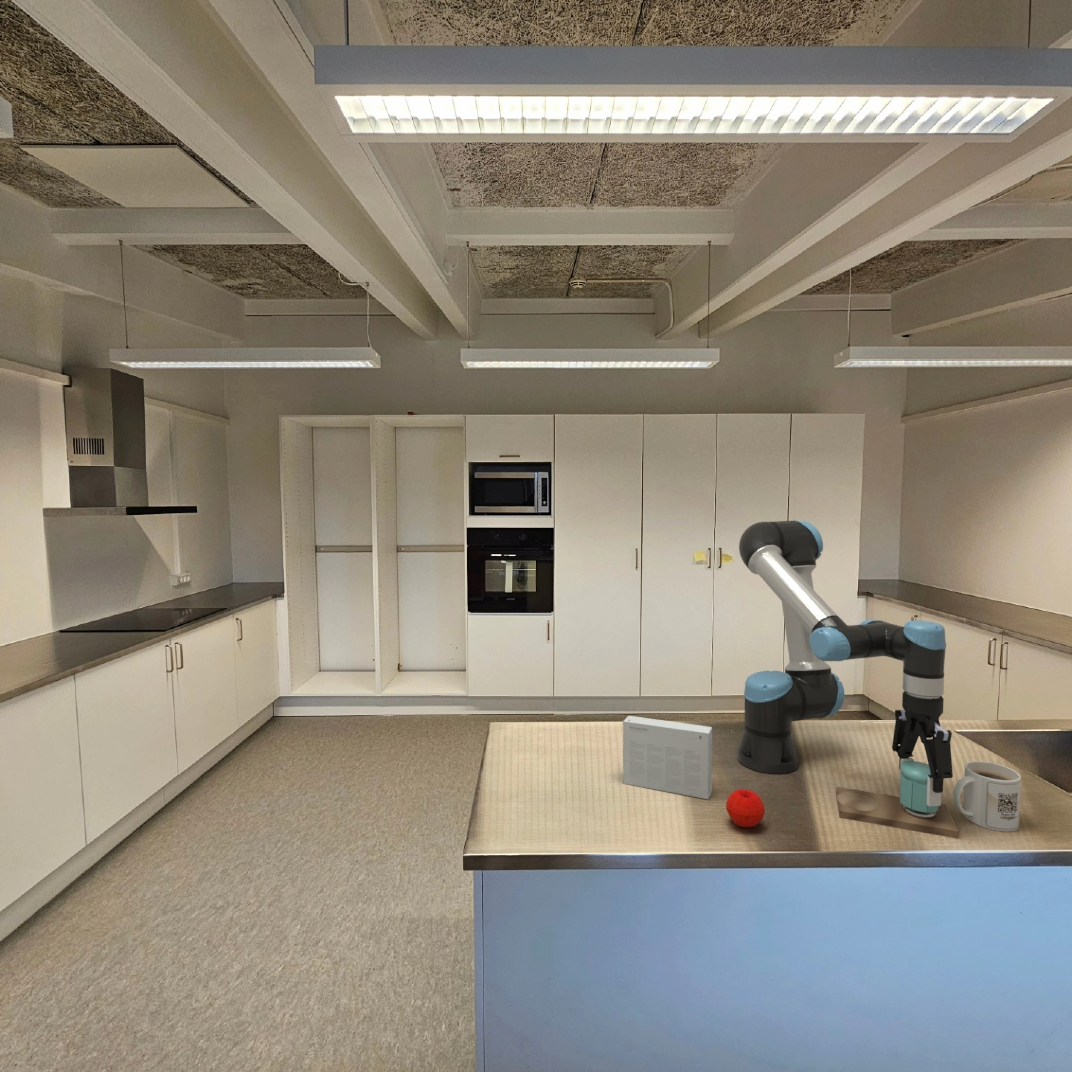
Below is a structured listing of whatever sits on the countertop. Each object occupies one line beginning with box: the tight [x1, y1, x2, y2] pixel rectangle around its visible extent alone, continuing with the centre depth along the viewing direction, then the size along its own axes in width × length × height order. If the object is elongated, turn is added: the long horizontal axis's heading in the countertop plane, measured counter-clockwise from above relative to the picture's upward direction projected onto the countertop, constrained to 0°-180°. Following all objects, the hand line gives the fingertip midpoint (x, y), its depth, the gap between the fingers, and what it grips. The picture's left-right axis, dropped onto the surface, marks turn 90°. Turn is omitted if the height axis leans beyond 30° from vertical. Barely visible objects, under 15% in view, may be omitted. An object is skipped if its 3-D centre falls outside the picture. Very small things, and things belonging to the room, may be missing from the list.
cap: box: [899, 760, 938, 813], centre depth 133 cm, size 7×7×8 cm
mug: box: [952, 760, 1022, 833], centre depth 132 cm, size 10×12×11 cm
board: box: [835, 786, 959, 839], centre depth 135 cm, size 22×12×2 cm, turn 67°
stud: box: [903, 805, 936, 819], centre depth 133 cm, size 6×6×8 cm
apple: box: [725, 789, 766, 828], centre depth 131 cm, size 8×8×7 cm
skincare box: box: [622, 715, 713, 800], centre depth 149 cm, size 21×5×16 cm, turn 65°
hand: (919, 795), depth 133 cm, fingers closed on cap, 7 cm apart
